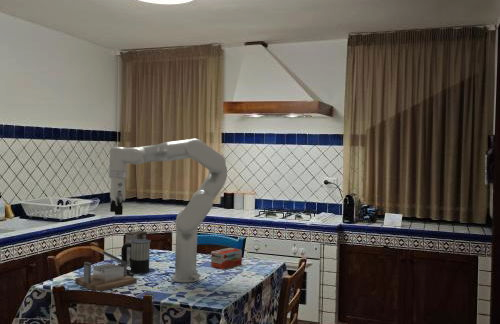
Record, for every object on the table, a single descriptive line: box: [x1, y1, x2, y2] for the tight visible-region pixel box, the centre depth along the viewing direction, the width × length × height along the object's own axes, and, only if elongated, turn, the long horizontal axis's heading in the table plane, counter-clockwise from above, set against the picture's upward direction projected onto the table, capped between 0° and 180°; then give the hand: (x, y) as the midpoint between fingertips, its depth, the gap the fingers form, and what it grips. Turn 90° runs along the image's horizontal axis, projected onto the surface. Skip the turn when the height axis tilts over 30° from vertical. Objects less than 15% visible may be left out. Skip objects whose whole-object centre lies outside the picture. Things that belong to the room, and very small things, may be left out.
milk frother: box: [120, 239, 151, 277], centre depth 231 cm, size 14×16×15 cm
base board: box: [74, 274, 138, 292], centre depth 214 cm, size 18×19×2 cm
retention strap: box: [90, 245, 126, 264], centre depth 214 cm, size 17×6×1 cm, turn 138°
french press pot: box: [124, 230, 148, 266], centre depth 249 cm, size 9×6×16 cm
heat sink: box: [83, 261, 128, 283], centre depth 213 cm, size 10×18×8 cm, turn 137°
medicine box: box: [210, 247, 243, 270], centre depth 251 cm, size 15×8×8 cm, turn 141°
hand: (116, 213), depth 218 cm, fingers open, 9 cm apart
